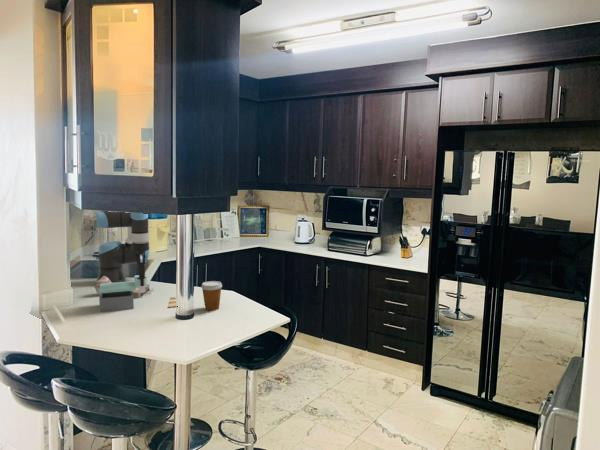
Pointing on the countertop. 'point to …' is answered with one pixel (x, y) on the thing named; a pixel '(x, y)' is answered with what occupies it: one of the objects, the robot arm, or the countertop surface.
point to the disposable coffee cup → (211, 294)
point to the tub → (116, 301)
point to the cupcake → (101, 281)
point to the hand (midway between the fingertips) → (142, 291)
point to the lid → (120, 286)
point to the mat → (172, 302)
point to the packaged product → (139, 295)
